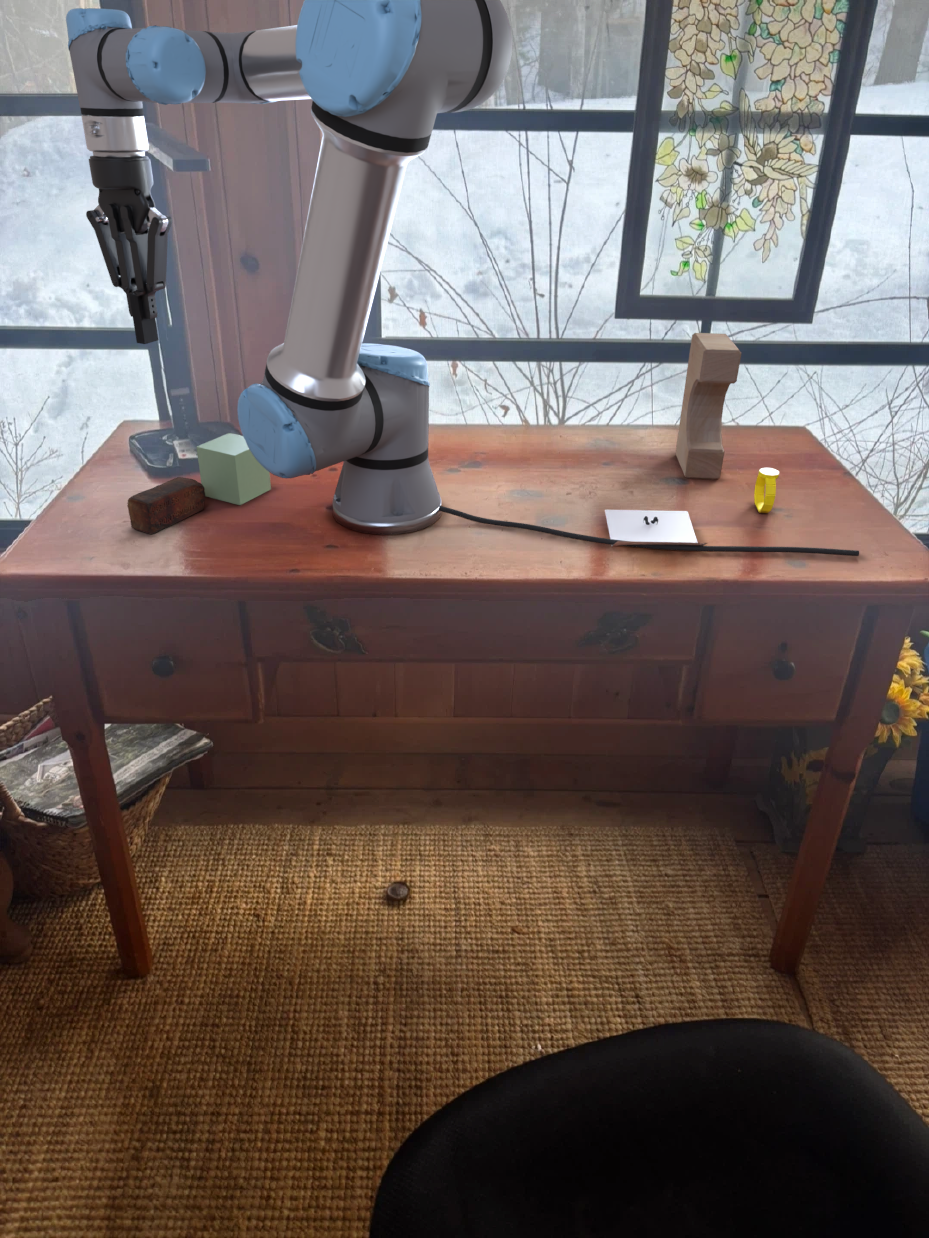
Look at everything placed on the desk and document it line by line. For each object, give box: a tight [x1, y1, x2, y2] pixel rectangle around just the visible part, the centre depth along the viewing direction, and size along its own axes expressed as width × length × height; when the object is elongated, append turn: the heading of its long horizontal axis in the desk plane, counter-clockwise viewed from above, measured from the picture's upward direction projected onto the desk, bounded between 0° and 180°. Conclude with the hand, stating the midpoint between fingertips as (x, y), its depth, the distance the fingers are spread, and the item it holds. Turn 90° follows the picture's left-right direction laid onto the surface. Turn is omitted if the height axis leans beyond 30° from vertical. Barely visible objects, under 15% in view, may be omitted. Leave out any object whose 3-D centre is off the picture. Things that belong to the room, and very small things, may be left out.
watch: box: [753, 467, 780, 514], centre depth 132 cm, size 6×3×6 cm, turn 177°
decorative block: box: [674, 332, 742, 480], centre depth 142 cm, size 11×6×20 cm, turn 176°
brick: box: [126, 476, 206, 535], centre depth 125 cm, size 11×4×5 cm, turn 152°
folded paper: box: [604, 509, 708, 547], centre depth 124 cm, size 12×12×2 cm
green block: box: [195, 432, 272, 506], centre depth 133 cm, size 7×7×8 cm
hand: (147, 341), depth 129 cm, fingers closed
